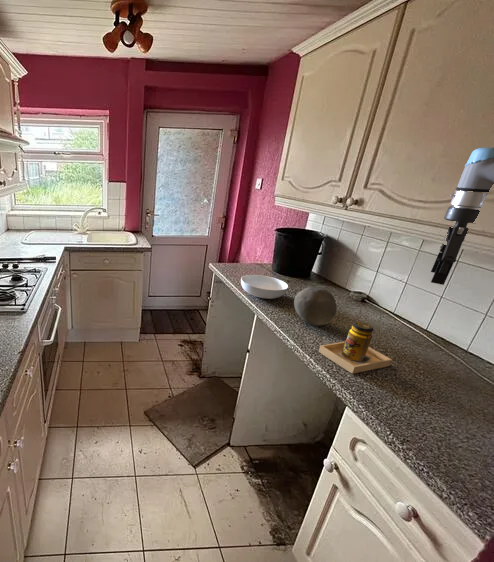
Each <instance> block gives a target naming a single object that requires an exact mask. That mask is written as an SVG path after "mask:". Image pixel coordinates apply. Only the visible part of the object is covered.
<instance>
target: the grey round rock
mask: <svg viewBox="0 0 494 562" xmlns="http://www.w3.org/2000/svg"><path fill="white" fill-rule="evenodd" d="M293 306H294V310H295V313H296V314H297V315H298V317H299V318H300V319H302V320H303V321H304V322H306V323H308V324H309V325H313V326H324V325H328V324H329V323H330V322H331V321H332V320H333V318H334V317H335V315H336V313H337V310H338V309H337V306H338V305H337V302H336V299H335V297H334V295H333V294H332V293H331V292H329V291H328V290H326V289H324V288H321V287H316V286H314V287H313V286H311V287H306V288H304V289H302V290H301V291H299V292H298V293H297V294H296V295H295V297H294V300H293Z"/></svg>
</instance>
